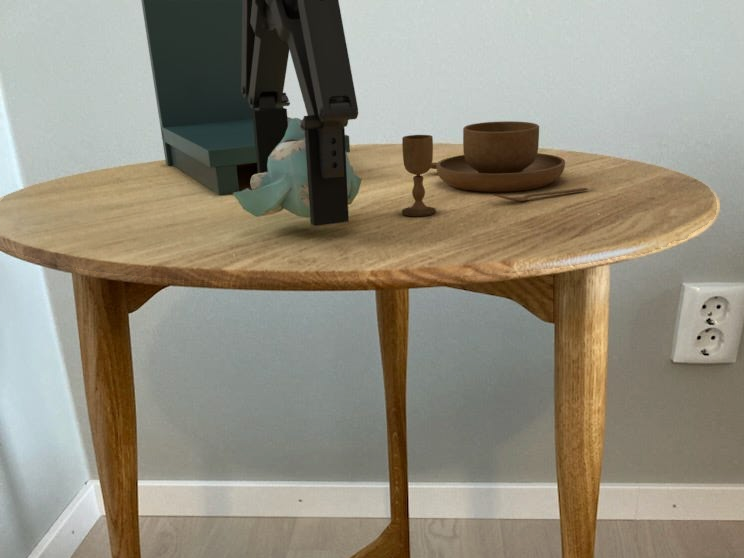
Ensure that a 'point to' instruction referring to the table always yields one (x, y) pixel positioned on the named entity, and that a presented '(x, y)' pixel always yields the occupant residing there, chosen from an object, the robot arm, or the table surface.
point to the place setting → (485, 162)
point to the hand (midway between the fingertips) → (301, 207)
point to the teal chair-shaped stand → (201, 88)
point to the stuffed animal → (287, 179)
